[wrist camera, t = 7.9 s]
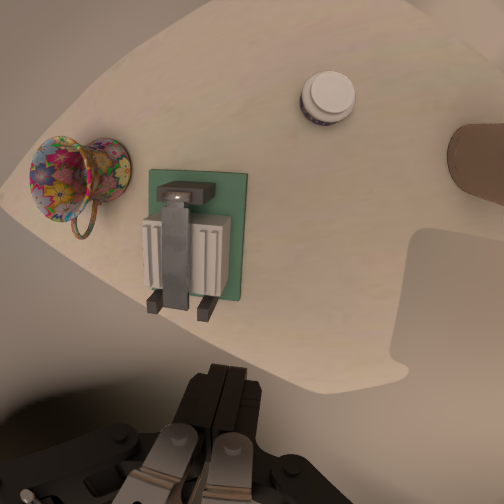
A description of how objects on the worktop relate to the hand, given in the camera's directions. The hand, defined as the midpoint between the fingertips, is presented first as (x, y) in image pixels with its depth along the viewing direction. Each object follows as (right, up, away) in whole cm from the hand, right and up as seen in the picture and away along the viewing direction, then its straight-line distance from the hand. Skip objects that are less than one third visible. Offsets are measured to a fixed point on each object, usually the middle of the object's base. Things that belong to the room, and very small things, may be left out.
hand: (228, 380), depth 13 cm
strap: (-7, +5, +20) cm, 22 cm away
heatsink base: (-6, +8, +27) cm, 29 cm away
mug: (-18, +15, +26) cm, 35 cm away
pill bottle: (+9, +22, +20) cm, 31 cm away
